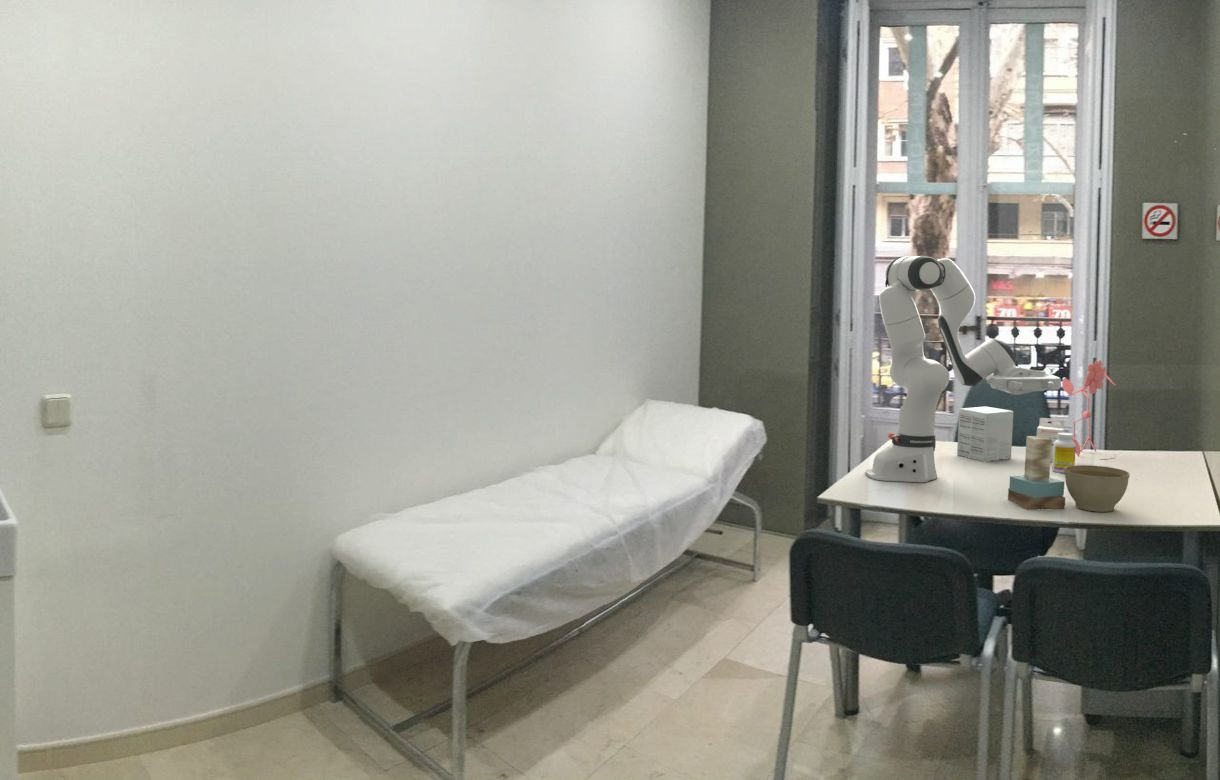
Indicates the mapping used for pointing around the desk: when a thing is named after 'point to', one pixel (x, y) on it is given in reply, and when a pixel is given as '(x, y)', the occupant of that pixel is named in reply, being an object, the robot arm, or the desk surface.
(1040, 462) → the ash pillar block
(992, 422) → the supplement box
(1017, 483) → the teal top block
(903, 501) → the desk surface
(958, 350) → the robot arm
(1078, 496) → the planter bowl
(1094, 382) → the pink flower sculpture
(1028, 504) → the walnut base block
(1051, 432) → the ink cartridge box
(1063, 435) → the supplement bottle
